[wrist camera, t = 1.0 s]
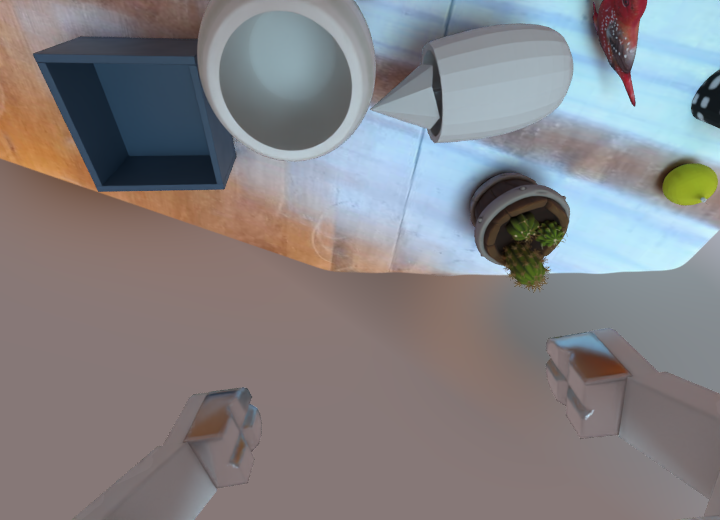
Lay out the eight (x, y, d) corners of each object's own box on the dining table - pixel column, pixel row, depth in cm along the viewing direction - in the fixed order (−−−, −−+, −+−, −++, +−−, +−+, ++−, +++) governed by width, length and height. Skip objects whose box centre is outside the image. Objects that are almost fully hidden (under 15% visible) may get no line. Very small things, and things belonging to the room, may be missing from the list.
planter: (341, -61, 41) (363, -70, 24) (369, 88, 51) (398, 156, 34) (205, -22, 42) (133, -4, 25) (260, 117, 52) (235, 196, 35)
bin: (80, 36, 44) (32, 53, 37) (213, 39, 46) (194, 56, 38) (128, 158, 54) (98, 191, 47) (236, 157, 56) (224, 189, 48)
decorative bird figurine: (597, -40, 45) (656, -38, 37) (617, 87, 55) (666, 109, 47) (574, -24, 45) (626, -19, 38) (597, 99, 56) (642, 122, 48)
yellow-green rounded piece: (651, 171, 65) (696, 200, 57) (694, 148, 63) (747, 175, 55) (654, 199, 69) (697, 229, 62) (695, 178, 67) (744, 207, 59)
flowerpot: (486, 147, 59) (547, 215, 44) (558, 176, 64) (635, 246, 48) (441, 219, 67) (479, 297, 52) (507, 239, 72) (560, 316, 57)
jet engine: (403, -41, 43) (445, -39, 29) (536, 30, 49) (620, 59, 35) (357, 86, 51) (373, 134, 38) (475, 134, 57) (525, 189, 44)
